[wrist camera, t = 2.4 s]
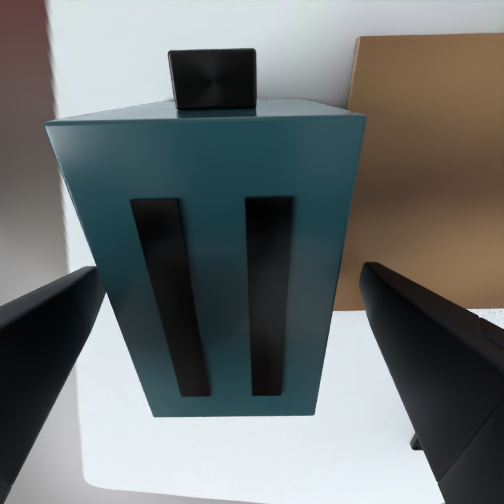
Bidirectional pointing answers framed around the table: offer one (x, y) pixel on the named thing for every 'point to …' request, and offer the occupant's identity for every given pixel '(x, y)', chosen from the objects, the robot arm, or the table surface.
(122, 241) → the toaster
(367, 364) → the table surface
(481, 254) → the mat
